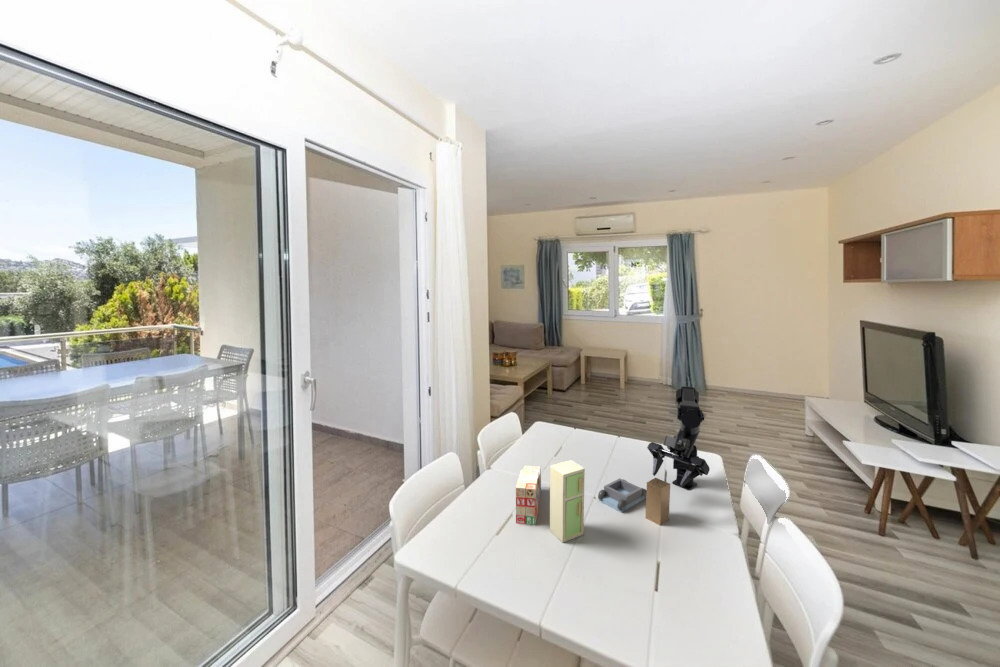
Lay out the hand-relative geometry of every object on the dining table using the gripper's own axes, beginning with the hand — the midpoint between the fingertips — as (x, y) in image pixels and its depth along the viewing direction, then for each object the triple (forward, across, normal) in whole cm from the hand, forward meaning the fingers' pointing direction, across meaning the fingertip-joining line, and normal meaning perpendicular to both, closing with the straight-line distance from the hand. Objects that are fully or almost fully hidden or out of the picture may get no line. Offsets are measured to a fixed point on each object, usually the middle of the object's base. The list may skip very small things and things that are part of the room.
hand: (666, 480), depth 124 cm
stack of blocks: (+30, -31, -14) cm, 46 cm away
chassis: (+10, -14, +6) cm, 18 cm away
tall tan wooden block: (+11, 0, +5) cm, 12 cm away
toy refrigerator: (+31, -13, -15) cm, 37 cm away
